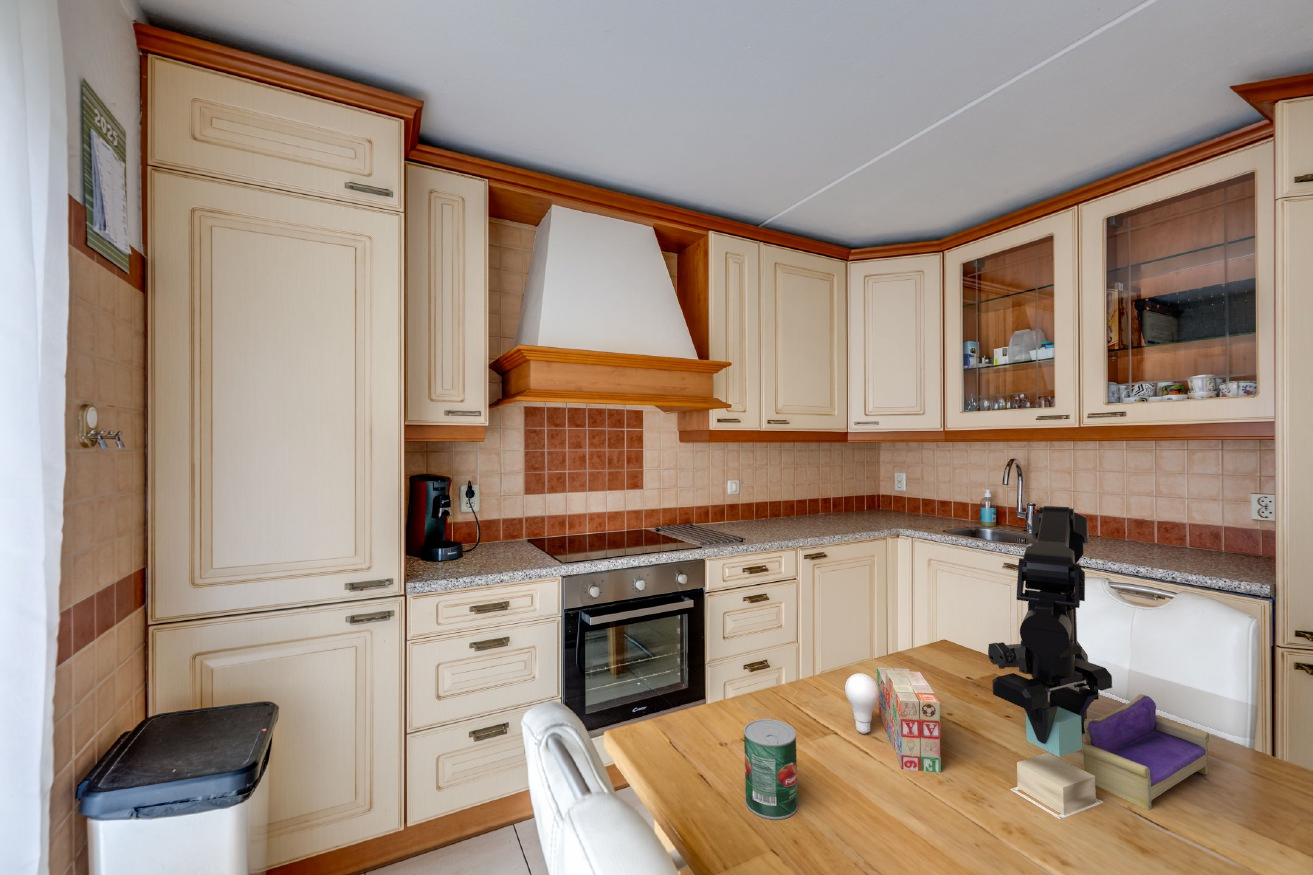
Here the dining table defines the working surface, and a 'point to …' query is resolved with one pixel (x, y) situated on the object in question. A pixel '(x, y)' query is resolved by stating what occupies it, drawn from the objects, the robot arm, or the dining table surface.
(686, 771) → the dining table surface
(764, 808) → the canned tomato
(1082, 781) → the block
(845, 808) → the dining table surface
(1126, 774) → the toy sofa
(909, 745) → the stack of blocks
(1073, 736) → the teal block
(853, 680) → the lightbulb
